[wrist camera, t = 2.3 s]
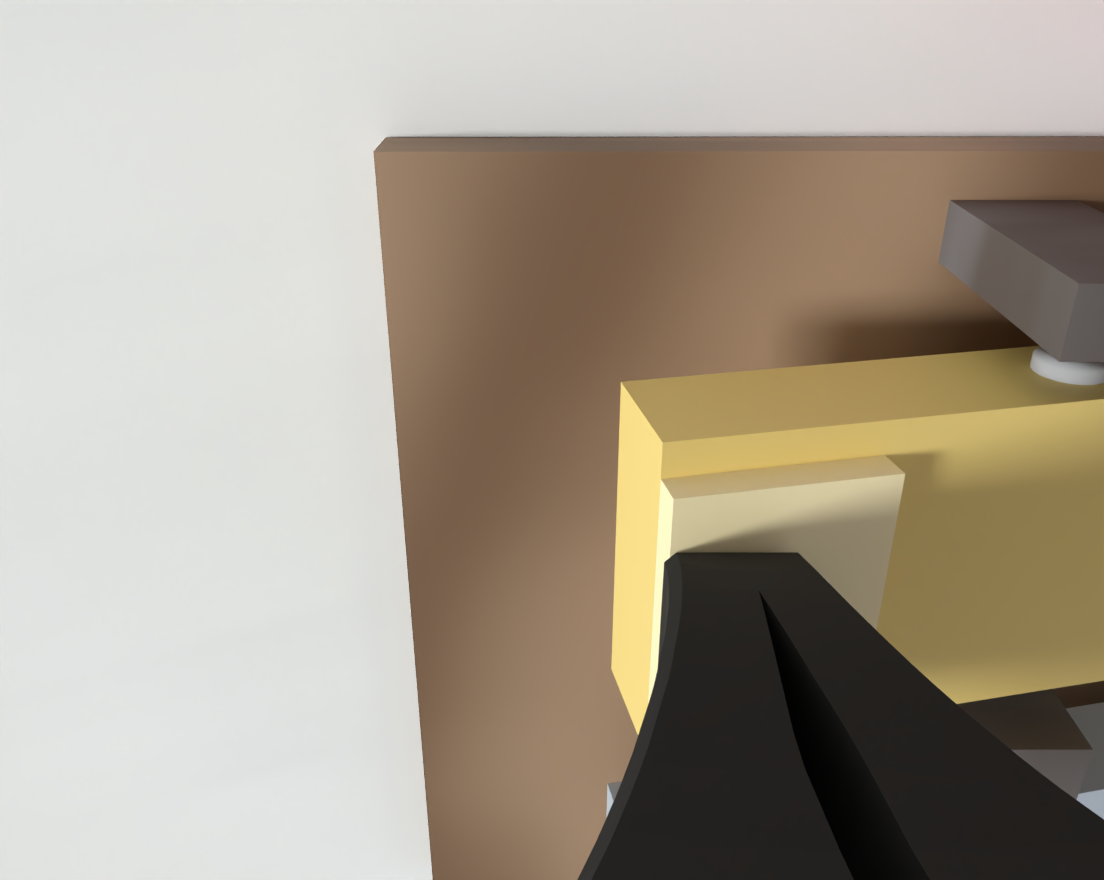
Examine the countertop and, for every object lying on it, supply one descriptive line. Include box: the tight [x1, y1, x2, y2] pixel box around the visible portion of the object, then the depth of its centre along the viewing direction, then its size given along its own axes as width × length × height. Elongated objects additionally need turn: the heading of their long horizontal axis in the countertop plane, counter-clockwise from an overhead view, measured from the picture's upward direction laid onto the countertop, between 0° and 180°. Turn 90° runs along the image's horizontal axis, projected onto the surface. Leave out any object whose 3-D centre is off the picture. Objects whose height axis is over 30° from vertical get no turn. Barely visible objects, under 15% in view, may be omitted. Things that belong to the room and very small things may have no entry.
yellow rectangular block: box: [611, 346, 1104, 735], centre depth 12 cm, size 10×4×2 cm, turn 90°
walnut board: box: [374, 137, 1104, 880], centre depth 14 cm, size 16×14×4 cm
